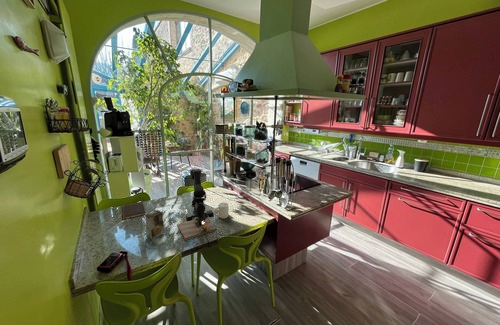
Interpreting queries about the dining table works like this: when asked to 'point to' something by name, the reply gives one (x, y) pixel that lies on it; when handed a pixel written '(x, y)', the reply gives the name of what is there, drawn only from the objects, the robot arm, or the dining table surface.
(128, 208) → the hardcover book
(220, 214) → the mug
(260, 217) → the dining table surface
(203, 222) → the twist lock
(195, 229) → the lock base
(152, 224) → the coffee box
